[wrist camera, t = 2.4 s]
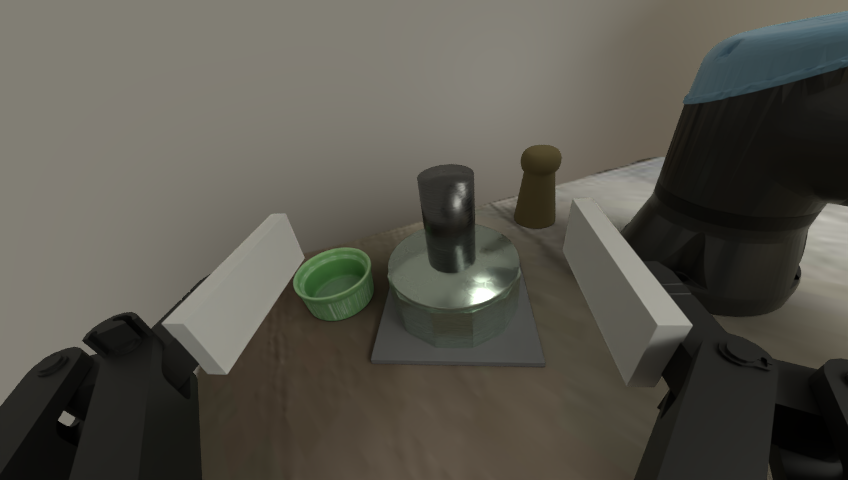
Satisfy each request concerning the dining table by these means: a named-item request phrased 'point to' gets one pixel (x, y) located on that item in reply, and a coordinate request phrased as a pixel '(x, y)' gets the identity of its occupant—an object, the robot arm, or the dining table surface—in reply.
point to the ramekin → (335, 283)
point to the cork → (538, 187)
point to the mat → (503, 350)
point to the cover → (453, 267)
